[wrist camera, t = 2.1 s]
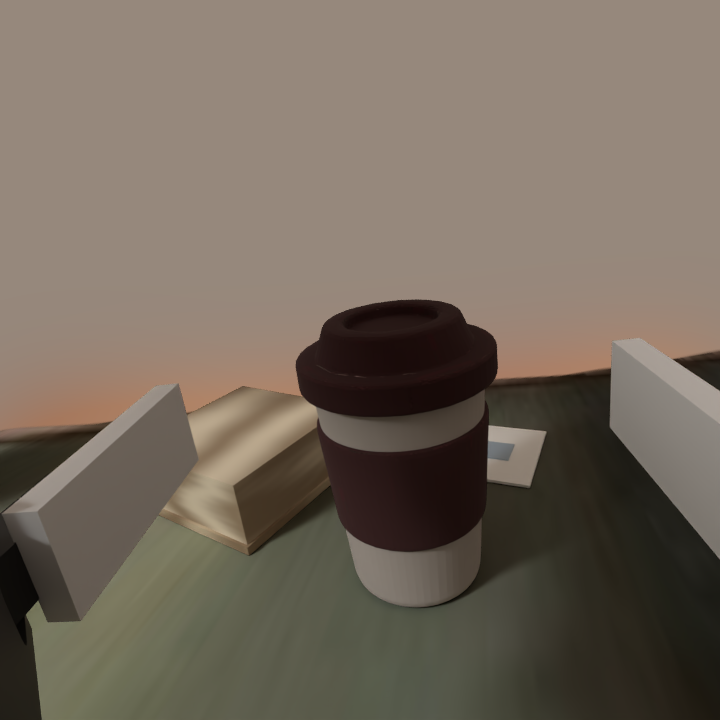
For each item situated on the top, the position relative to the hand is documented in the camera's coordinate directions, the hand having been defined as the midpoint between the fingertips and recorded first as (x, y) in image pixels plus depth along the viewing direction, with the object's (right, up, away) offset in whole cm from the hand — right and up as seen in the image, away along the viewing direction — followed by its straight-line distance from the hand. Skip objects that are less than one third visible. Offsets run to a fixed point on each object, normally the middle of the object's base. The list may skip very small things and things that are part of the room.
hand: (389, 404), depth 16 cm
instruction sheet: (+8, -6, +25) cm, 27 cm away
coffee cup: (+3, -11, +14) cm, 18 cm away
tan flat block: (-9, -8, +25) cm, 28 cm away
